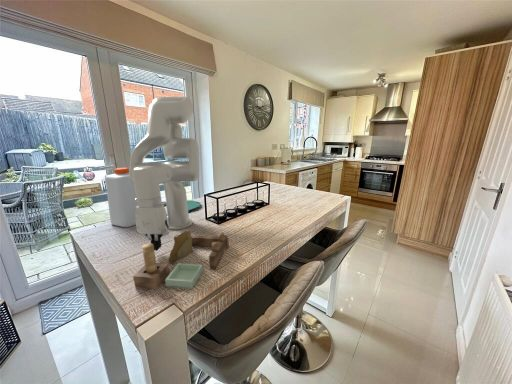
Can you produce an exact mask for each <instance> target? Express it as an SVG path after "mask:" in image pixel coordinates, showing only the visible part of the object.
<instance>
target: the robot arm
mask: <svg viewBox="0 0 512 384" xmlns="http://www.w3.org/2000/svg"><path fill="white" fill-rule="evenodd" d="M193 112H194V103H193V101H192V100H191V98H189V97H188V96H159V97H155V98H154V99H153V100H152V103H150V104H149V106H148V113H147V124H146V133H145V136H144V137H143V138H142V139H141V140H140V141H139V142H138V144H137V145H136V146H135V147H134V148H133V150H132V152H131V155H130V158H129V167H128V169H129V174H130V178H131V180H132V181H133V182H134V185H135V191H136V196H137V198H135V202H137V203H138V206H136V225H135V226H136V227H135V228H136V231H137V233H138V234H141V235H144V236H146V237H147V239H148V240H149V241H150V243H151V244H153V246H154V252H155V251H156V252H157V251H158V250H159V249H161V247H162V239H161V238H162V237H165V236H167V235H169V234H170V231H169V230H173V231H178V230H183V229H186V228H189V227H191V226H192V225H193V219H192V218H190V217H189V211H188V205H187V201H188V199H187V198H188V197H187V196H188V195H187V191H186V190H187V189H186V188H185V185H184V184H182V183H183V182H196V181H198V180H199V178H200V148H199V147H200V146H199V144H198V141H197V140H196V139H194V138H192V137H183V128H182V126H181V125H180V124H184V123H187V122H188V121H189V120H190V118H191V117H192V115H193ZM162 147H163V149H162V150H163V155H164V157H166V158H167V159H171V160H170V161H166V162H144V160H145V159H146V157H147V156H148V155H149V154H150V153H152V152H153V151H156V150H157V149H159V148H162ZM180 159H181V161H180ZM183 159H186V160H183ZM172 160H174V161H172ZM160 185H163V189H164V195H165V197H164V198H165V201H166V202H165V204H166V207H167V208H166V207H165V205H164V204H163V203H162V194H161V188H160V187H161V186H160ZM166 210H167V211H166ZM167 215H168V216H167Z"/></svg>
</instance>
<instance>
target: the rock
mask: <svg viewBox="0 0 512 384" xmlns="http://www.w3.org/2000/svg"><path fill="white" fill-rule="evenodd" d="M178 235H179V236H177V237H176V238H175V243H174V244H173V247H172V249H171V251H170V253H169V258H168V262H167V264H170V265H174V264H176V263H177V262H179V261H180V260H182V259H184V258H186V257H187V256H189V255H190V254H192V253H193V250H194V249H193V248H194V247H192V236H191V235H192V233H191V232H190V230H187V231H182V232H181V233H180V234H178Z"/></svg>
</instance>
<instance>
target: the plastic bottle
mask: <svg viewBox="0 0 512 384" xmlns="http://www.w3.org/2000/svg"><path fill="white" fill-rule="evenodd" d="M113 171H114V173H112V174H108V175H106V176H105V179H104V180H105V186H106V194H107V195H106V196H107V203H108V211H109V218H110V219H109V222H110V223H111V225H114V226H118V227H121V228H129V227H133V226H136V206H138V203H137V202H135V198H137V196H136V191H135V185H134V182H133V181H132V180H131V178H130V174H129V167H117V168H115V169H114V170H113Z"/></svg>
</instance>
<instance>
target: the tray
mask: <svg viewBox="0 0 512 384" xmlns="http://www.w3.org/2000/svg"><path fill="white" fill-rule="evenodd" d="M203 272H204V268H203V264H192V263H180V262H178V264H176V266H175V267H174V268H173V270H172V271H170V274H169V276H168V277H167V278H166V279H165V281H164V282H165V287H166V288H176V289H185V290H186V289H187V290H193V289H194V287H195V286H196V285H197V282H198V281H199V279H200V277H201V275H202V274H203Z"/></svg>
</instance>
